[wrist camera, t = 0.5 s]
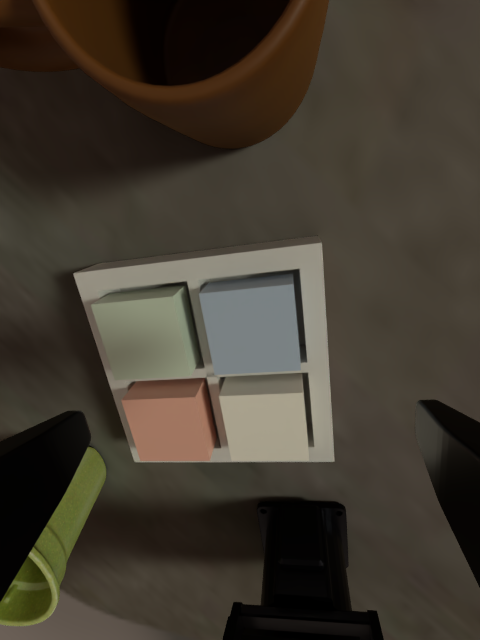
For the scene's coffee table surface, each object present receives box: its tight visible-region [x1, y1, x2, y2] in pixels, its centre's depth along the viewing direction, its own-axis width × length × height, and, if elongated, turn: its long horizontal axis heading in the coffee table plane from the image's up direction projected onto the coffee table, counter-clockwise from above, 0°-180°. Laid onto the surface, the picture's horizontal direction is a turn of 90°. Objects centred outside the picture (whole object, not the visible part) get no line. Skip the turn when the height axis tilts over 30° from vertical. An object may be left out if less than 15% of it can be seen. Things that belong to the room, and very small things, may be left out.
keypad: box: [73, 235, 334, 462], centre depth 20 cm, size 13×13×3 cm
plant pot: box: [0, 447, 106, 626], centre depth 23 cm, size 9×9×9 cm
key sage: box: [91, 285, 200, 380], centre depth 18 cm, size 4×4×2 cm
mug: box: [0, 0, 329, 149], centre depth 11 cm, size 12×8×9 cm, turn 97°
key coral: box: [121, 378, 217, 461], centre depth 20 cm, size 4×4×2 cm
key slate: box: [199, 274, 301, 375], centre depth 17 cm, size 4×4×2 cm
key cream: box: [219, 373, 309, 461], centre depth 19 cm, size 4×4×2 cm
